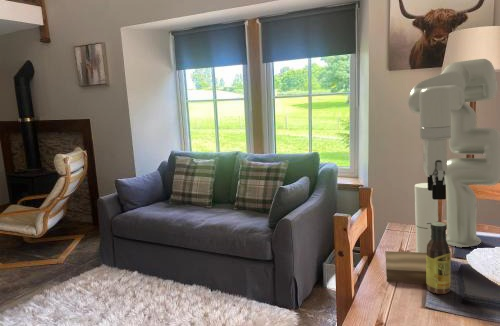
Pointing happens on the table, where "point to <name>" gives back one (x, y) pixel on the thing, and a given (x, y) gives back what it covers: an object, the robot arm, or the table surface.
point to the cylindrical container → (424, 215)
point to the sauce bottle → (438, 260)
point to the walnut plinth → (406, 267)
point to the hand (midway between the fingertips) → (436, 194)
